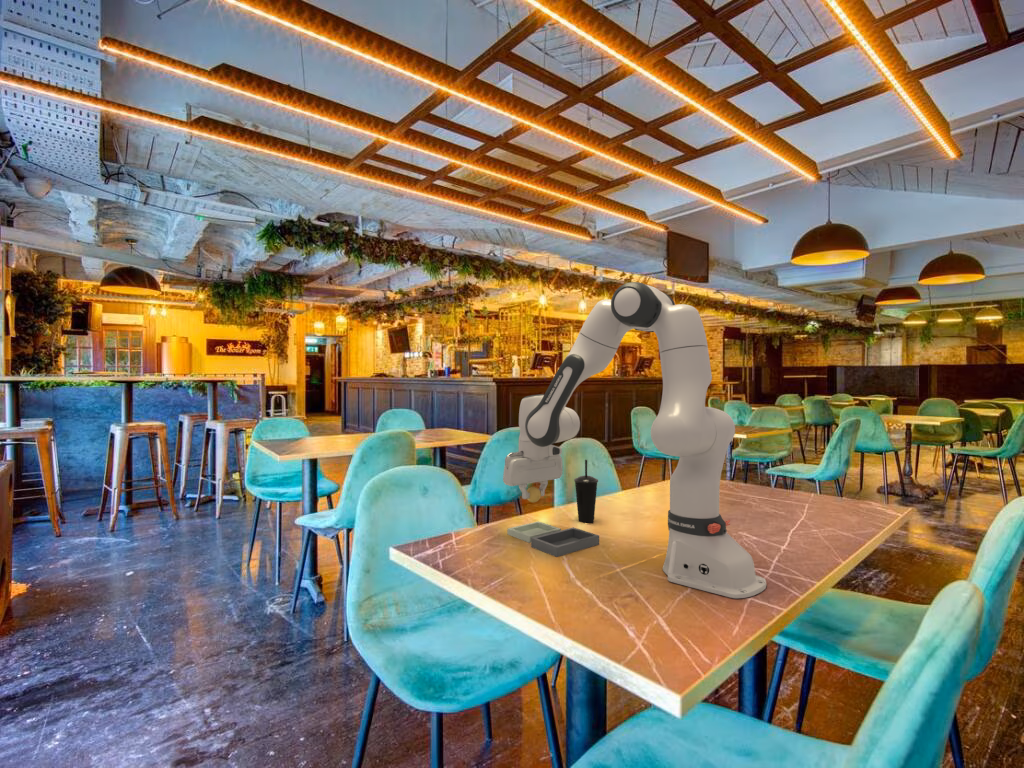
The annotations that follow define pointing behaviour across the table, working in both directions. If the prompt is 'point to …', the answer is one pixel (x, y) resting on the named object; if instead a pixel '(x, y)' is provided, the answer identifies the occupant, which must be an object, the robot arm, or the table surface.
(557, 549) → the dish
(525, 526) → the tray
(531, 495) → the ball
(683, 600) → the table surface
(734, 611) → the table surface
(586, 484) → the drinking cup
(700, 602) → the table surface
